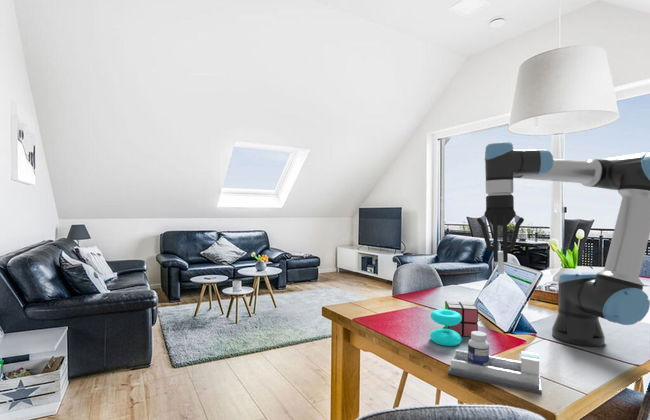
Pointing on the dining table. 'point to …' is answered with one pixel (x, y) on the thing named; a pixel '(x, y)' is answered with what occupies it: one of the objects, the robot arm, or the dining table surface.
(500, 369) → the rail plate
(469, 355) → the pill bottle
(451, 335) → the donuts
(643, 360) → the dining table surface
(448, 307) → the puzzle cube
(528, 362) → the block
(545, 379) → the dining table surface
